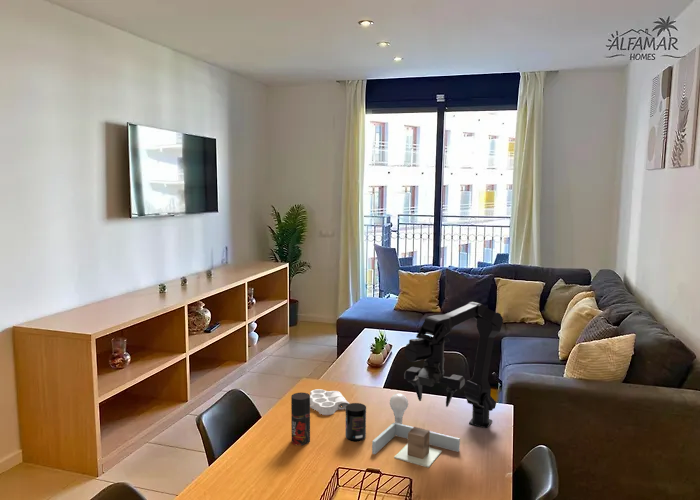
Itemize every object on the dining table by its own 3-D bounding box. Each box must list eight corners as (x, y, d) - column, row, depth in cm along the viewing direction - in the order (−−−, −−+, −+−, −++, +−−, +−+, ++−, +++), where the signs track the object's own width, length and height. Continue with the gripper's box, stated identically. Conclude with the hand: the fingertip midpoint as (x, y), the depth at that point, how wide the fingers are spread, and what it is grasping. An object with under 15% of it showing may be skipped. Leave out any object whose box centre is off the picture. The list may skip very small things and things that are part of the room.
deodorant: (313, 439, 168) (313, 394, 167) (304, 446, 163) (304, 400, 161) (297, 435, 171) (297, 391, 169) (288, 443, 165) (287, 397, 164)
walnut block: (413, 448, 162) (414, 426, 161) (429, 452, 159) (429, 430, 159) (407, 454, 157) (407, 432, 157) (423, 459, 155) (423, 436, 154)
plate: (409, 443, 166) (409, 441, 166) (441, 451, 160) (441, 450, 160) (394, 458, 156) (394, 456, 156) (428, 467, 151) (428, 466, 151)
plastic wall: (393, 433, 172) (393, 422, 172) (459, 450, 161) (459, 438, 161) (372, 453, 159) (372, 441, 159) (442, 473, 148) (442, 460, 147)
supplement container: (359, 431, 174) (360, 401, 173) (369, 440, 168) (370, 409, 167) (341, 435, 171) (341, 405, 170) (351, 444, 165) (351, 412, 164)
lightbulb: (406, 429, 175) (407, 398, 174) (388, 427, 177) (388, 396, 175) (408, 421, 182) (409, 391, 180) (390, 420, 183) (390, 389, 182)
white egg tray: (352, 412, 190) (313, 417, 185) (338, 394, 207) (302, 399, 202) (352, 404, 189) (313, 408, 185) (338, 386, 206) (302, 390, 202)
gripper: (397, 358, 163) (396, 406, 165) (454, 368, 154) (453, 419, 156) (411, 349, 173) (410, 394, 175) (466, 358, 164) (464, 406, 165)
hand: (433, 403), depth 167 cm, fingers open, 9 cm apart
